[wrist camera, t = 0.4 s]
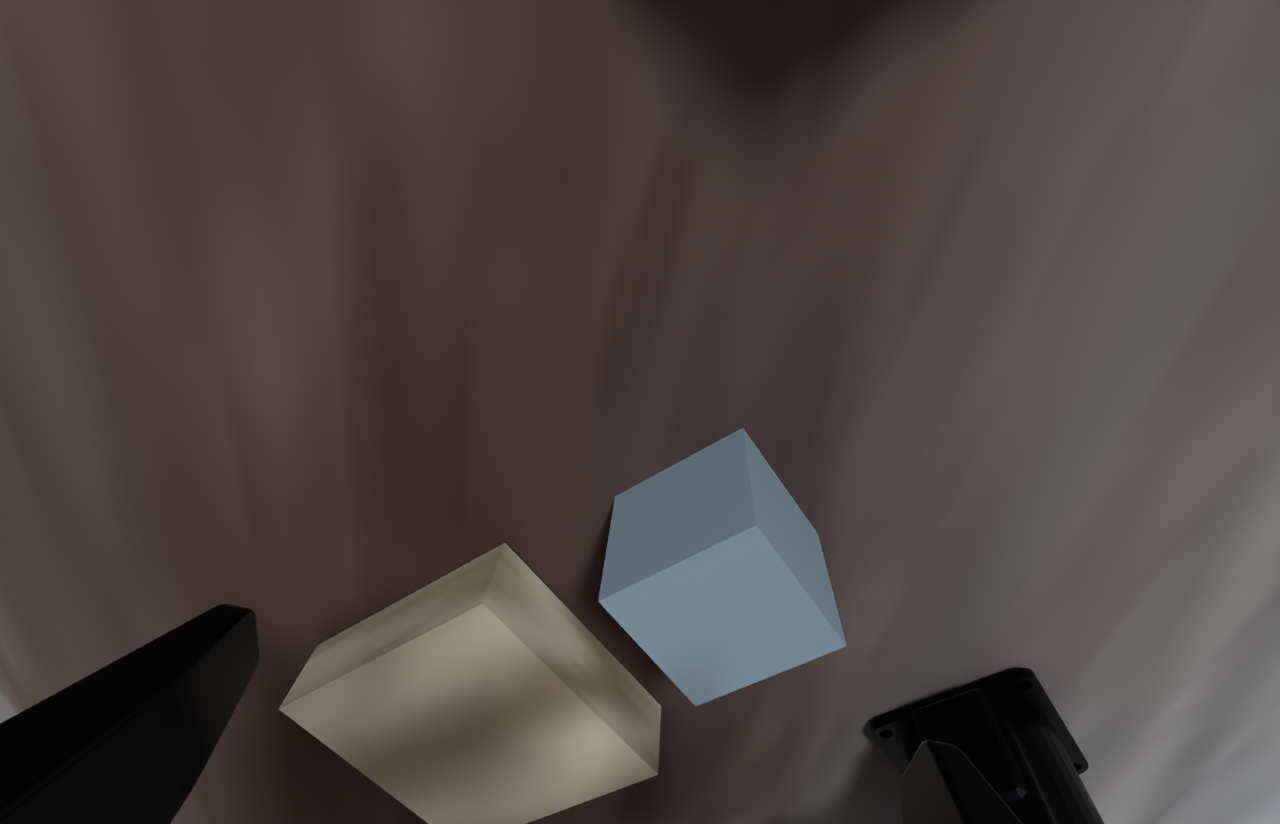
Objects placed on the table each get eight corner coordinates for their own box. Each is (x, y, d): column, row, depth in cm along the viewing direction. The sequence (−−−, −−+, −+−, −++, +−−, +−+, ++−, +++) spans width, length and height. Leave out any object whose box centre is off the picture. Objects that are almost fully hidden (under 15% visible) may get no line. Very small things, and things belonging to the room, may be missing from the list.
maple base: (660, 705, 28) (658, 774, 26) (479, 779, 31) (460, 847, 29) (504, 542, 24) (482, 603, 22) (317, 645, 28) (278, 709, 25)
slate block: (817, 533, 24) (846, 646, 19) (694, 589, 25) (695, 706, 21) (742, 426, 22) (755, 525, 17) (615, 495, 23) (598, 601, 19)
